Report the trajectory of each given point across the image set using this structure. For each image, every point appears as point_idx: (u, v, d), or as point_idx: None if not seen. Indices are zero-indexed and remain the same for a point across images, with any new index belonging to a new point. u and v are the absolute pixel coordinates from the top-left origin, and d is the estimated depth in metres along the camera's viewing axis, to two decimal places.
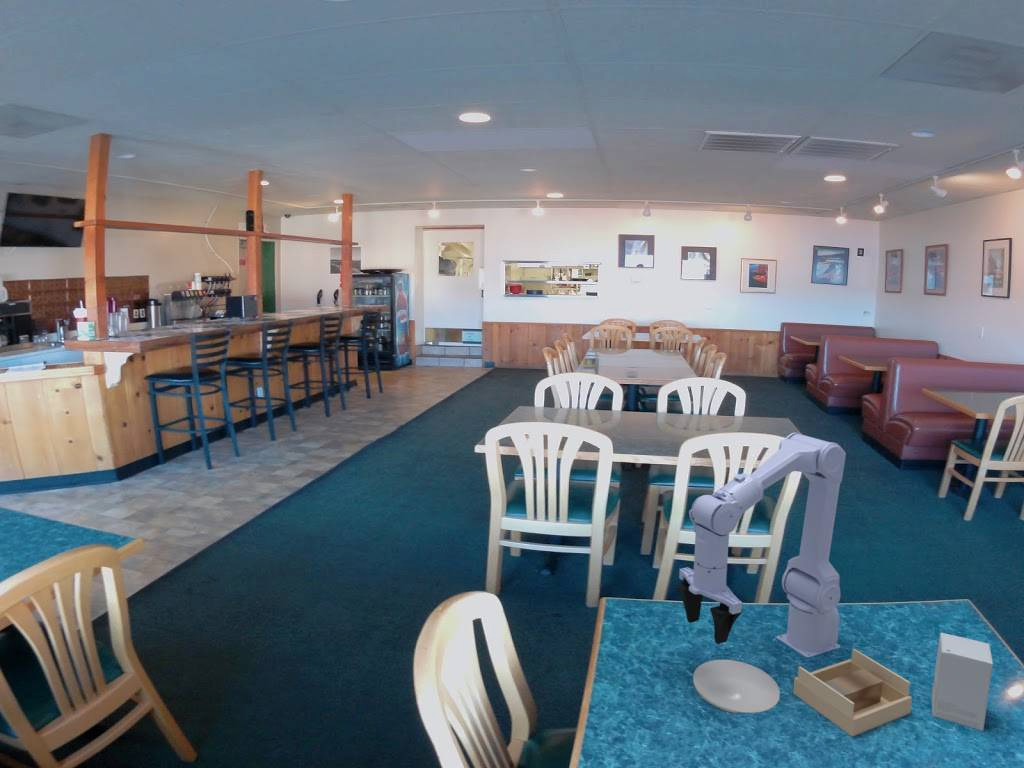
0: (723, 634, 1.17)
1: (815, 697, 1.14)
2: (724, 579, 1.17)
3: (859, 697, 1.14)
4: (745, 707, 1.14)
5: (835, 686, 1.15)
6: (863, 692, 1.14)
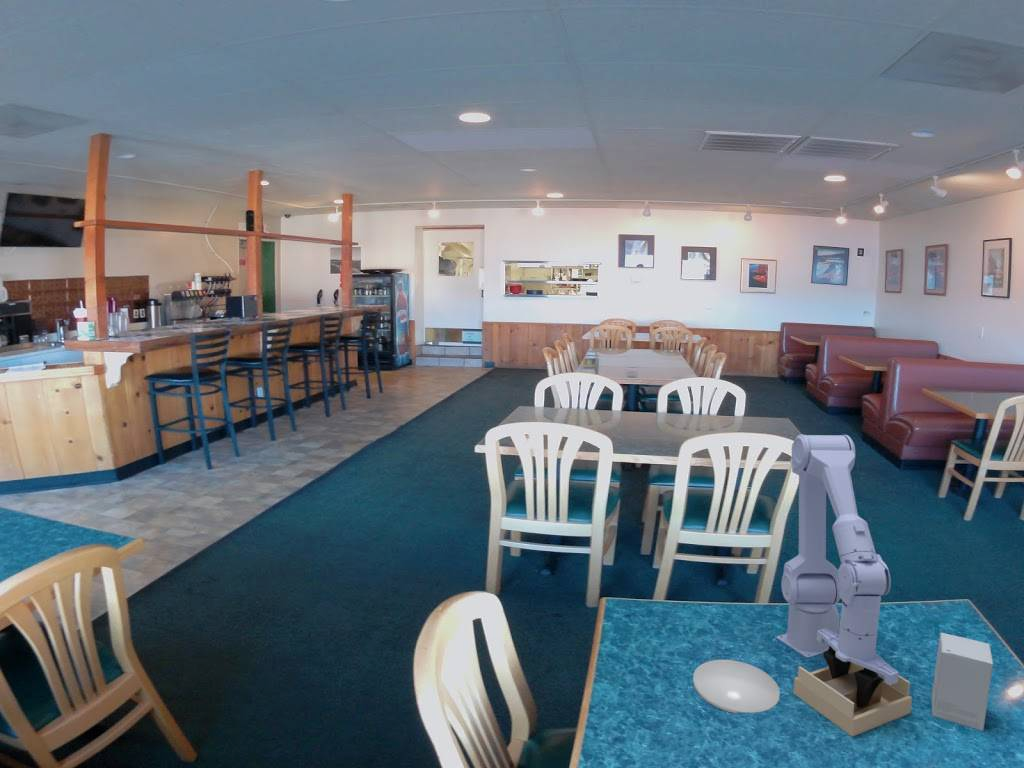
0: (866, 699, 1.13)
1: (815, 697, 1.14)
2: (874, 646, 1.12)
3: None
4: (745, 707, 1.14)
5: (835, 686, 1.15)
6: None
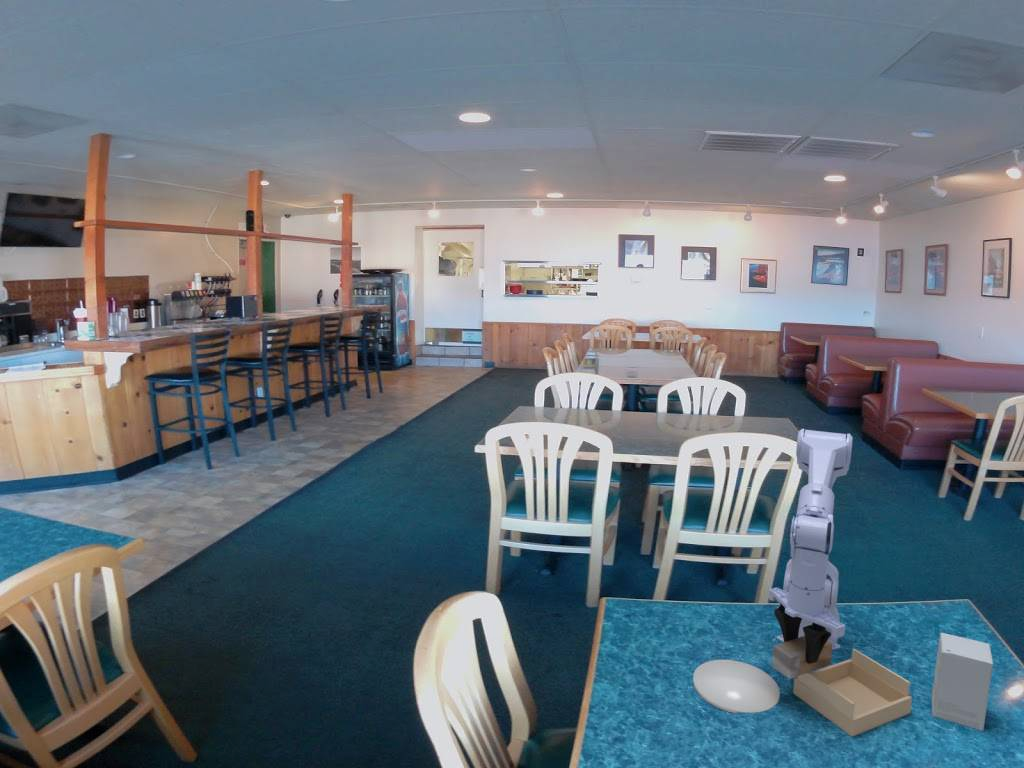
0: (814, 654, 1.14)
1: (815, 697, 1.14)
2: (823, 601, 1.13)
3: None
4: (745, 707, 1.14)
5: (785, 648, 1.16)
6: None
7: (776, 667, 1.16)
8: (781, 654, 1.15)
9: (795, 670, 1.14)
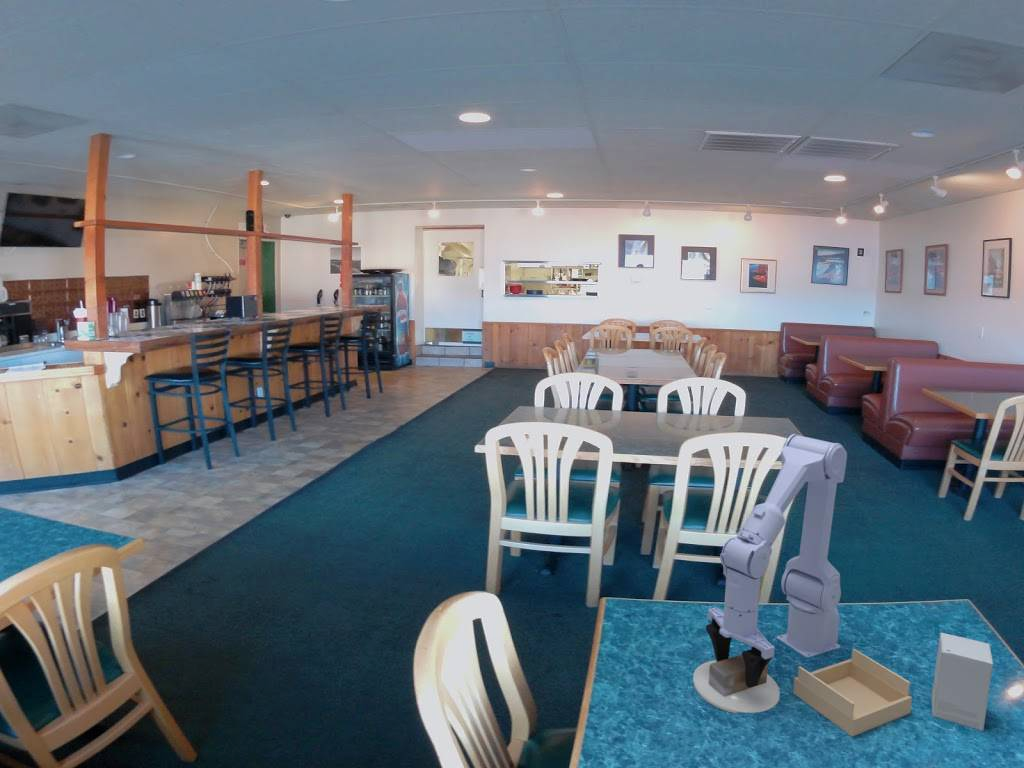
0: (754, 678, 1.16)
1: (815, 697, 1.14)
2: (755, 622, 1.17)
3: (744, 677, 1.19)
4: (745, 707, 1.14)
5: (721, 667, 1.19)
6: None
7: (712, 685, 1.20)
8: (716, 673, 1.19)
9: (729, 688, 1.18)
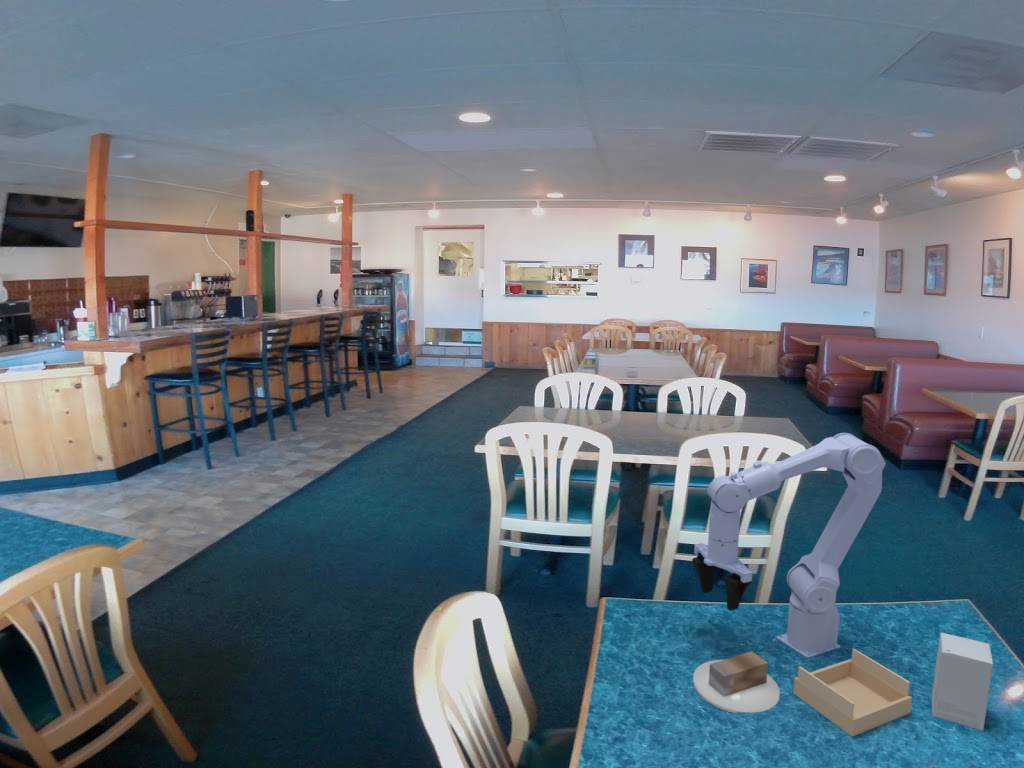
0: (735, 602, 1.30)
1: (815, 697, 1.14)
2: (736, 552, 1.30)
3: (744, 677, 1.19)
4: (745, 707, 1.14)
5: (721, 667, 1.19)
6: (748, 672, 1.19)
7: (712, 685, 1.20)
8: (716, 673, 1.19)
9: (729, 688, 1.18)
